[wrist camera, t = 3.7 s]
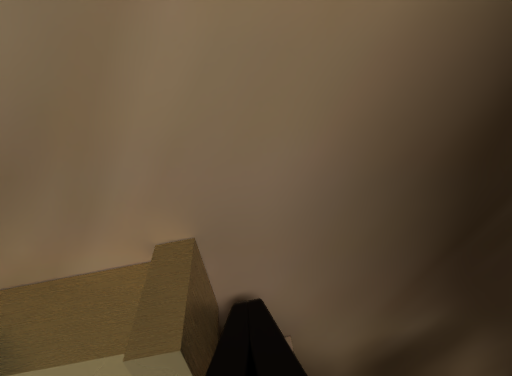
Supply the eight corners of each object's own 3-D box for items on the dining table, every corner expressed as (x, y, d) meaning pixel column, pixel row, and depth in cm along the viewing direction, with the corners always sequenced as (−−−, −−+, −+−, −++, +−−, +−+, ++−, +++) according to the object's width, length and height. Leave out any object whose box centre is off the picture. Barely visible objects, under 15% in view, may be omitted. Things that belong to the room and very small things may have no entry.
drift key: (194, 238, 9) (180, 351, 6) (218, 307, 11) (216, 424, 8) (-96, 293, 10) (-250, 431, 6) (-30, 354, 11) (-128, 488, 8)
